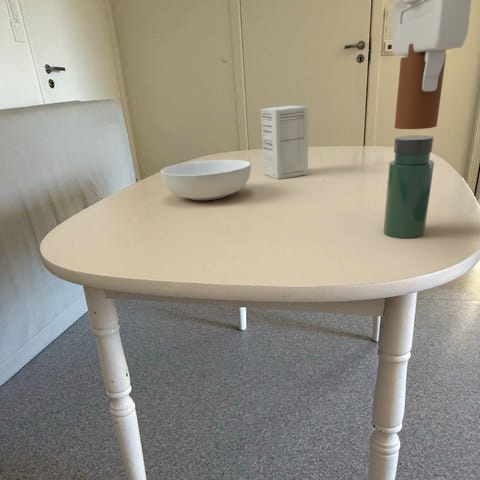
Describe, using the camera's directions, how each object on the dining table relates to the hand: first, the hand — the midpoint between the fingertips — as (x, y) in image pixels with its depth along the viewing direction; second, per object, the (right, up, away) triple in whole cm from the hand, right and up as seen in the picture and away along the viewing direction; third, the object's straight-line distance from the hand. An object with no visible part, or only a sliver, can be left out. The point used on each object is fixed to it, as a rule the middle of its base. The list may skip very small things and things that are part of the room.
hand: (419, 90), depth 63 cm
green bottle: (+1, -18, +10) cm, 21 cm away
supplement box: (-13, +7, +59) cm, 61 cm away
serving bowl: (-33, -3, +42) cm, 54 cm away
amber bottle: (0, -4, +2) cm, 5 cm away
